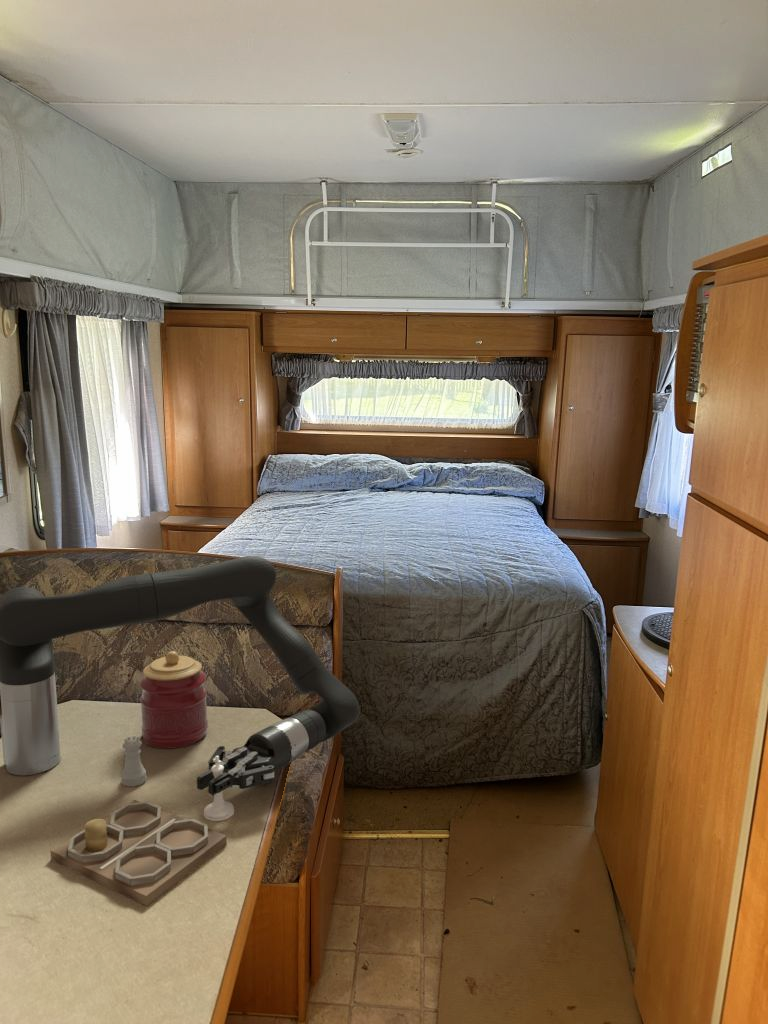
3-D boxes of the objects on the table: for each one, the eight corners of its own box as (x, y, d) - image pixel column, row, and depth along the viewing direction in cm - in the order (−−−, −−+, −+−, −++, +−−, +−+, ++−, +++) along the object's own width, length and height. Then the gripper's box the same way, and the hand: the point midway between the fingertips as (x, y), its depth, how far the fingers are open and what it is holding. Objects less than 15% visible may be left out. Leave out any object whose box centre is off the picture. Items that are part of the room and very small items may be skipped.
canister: (192, 752, 143) (189, 665, 140) (129, 747, 145) (125, 661, 142) (218, 723, 156) (215, 642, 153) (159, 718, 158) (156, 639, 155)
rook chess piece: (138, 789, 130) (136, 746, 129) (115, 786, 131) (113, 743, 130) (151, 776, 134) (149, 734, 133) (129, 773, 135) (127, 732, 134)
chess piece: (221, 801, 126) (219, 746, 125) (240, 811, 123) (238, 755, 122) (197, 813, 122) (195, 757, 121) (216, 824, 119) (214, 767, 118)
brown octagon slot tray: (50, 859, 110) (48, 828, 109) (135, 808, 124) (133, 780, 123) (146, 905, 100) (145, 872, 100) (226, 844, 114) (225, 814, 113)
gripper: (249, 716, 137) (174, 753, 123) (306, 736, 129) (233, 777, 115) (250, 754, 138) (176, 795, 124) (307, 776, 130) (235, 822, 116)
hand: (204, 786), depth 119 cm, fingers closed on chess piece
